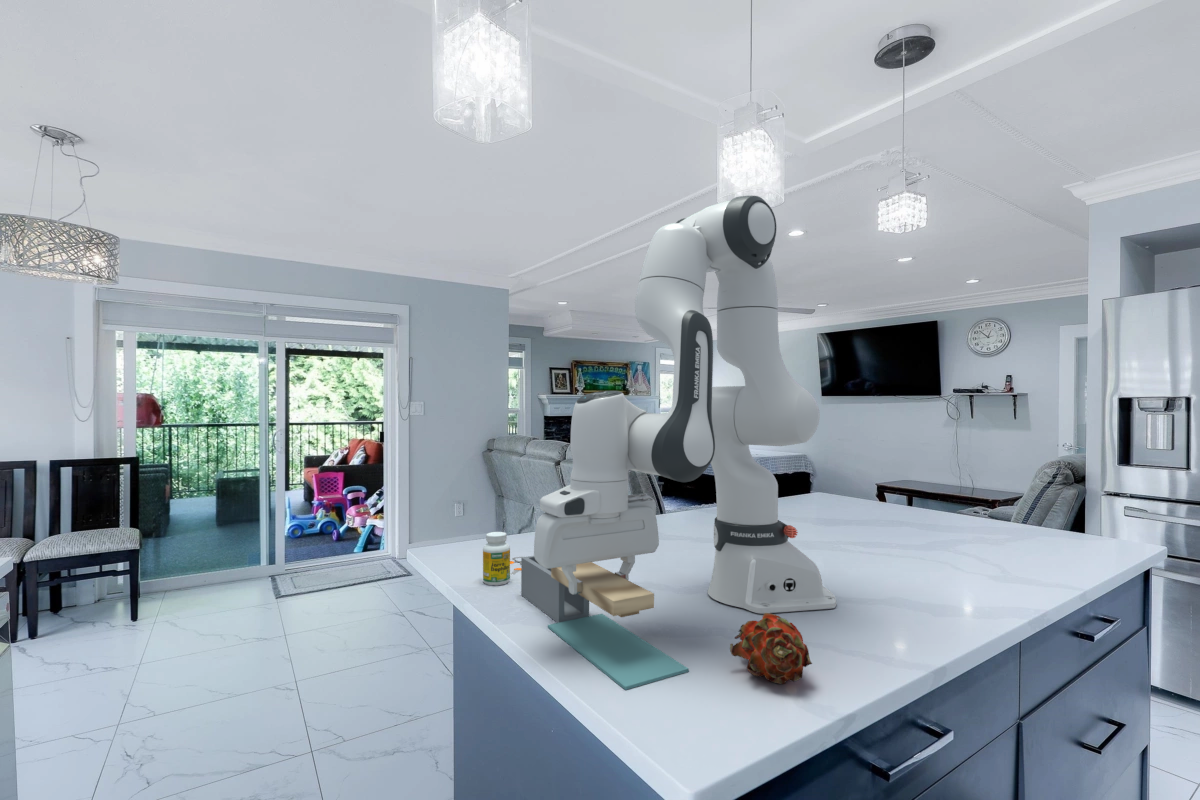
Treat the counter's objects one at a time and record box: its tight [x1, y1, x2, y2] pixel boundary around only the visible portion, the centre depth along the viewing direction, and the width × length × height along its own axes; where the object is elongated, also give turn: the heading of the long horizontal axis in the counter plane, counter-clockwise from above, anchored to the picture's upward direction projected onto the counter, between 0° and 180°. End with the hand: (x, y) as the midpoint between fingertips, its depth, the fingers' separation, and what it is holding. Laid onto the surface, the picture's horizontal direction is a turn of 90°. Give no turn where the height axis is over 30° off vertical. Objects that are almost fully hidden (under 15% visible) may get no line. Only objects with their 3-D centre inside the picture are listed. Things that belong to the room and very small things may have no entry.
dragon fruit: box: [729, 613, 813, 685], centre depth 76 cm, size 8×8×12 cm
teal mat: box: [547, 613, 690, 691], centre depth 84 cm, size 23×10×1 cm, turn 30°
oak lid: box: [551, 562, 655, 618], centre depth 87 cm, size 20×7×3 cm, turn 30°
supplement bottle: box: [482, 531, 511, 586], centre depth 115 cm, size 5×5×10 cm
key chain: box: [510, 556, 522, 575], centre depth 127 cm, size 13×7×1 cm, turn 20°
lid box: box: [520, 555, 590, 623], centre depth 101 cm, size 16×6×7 cm, turn 30°
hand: (599, 588), depth 87 cm, fingers closed on oak lid, 7 cm apart
